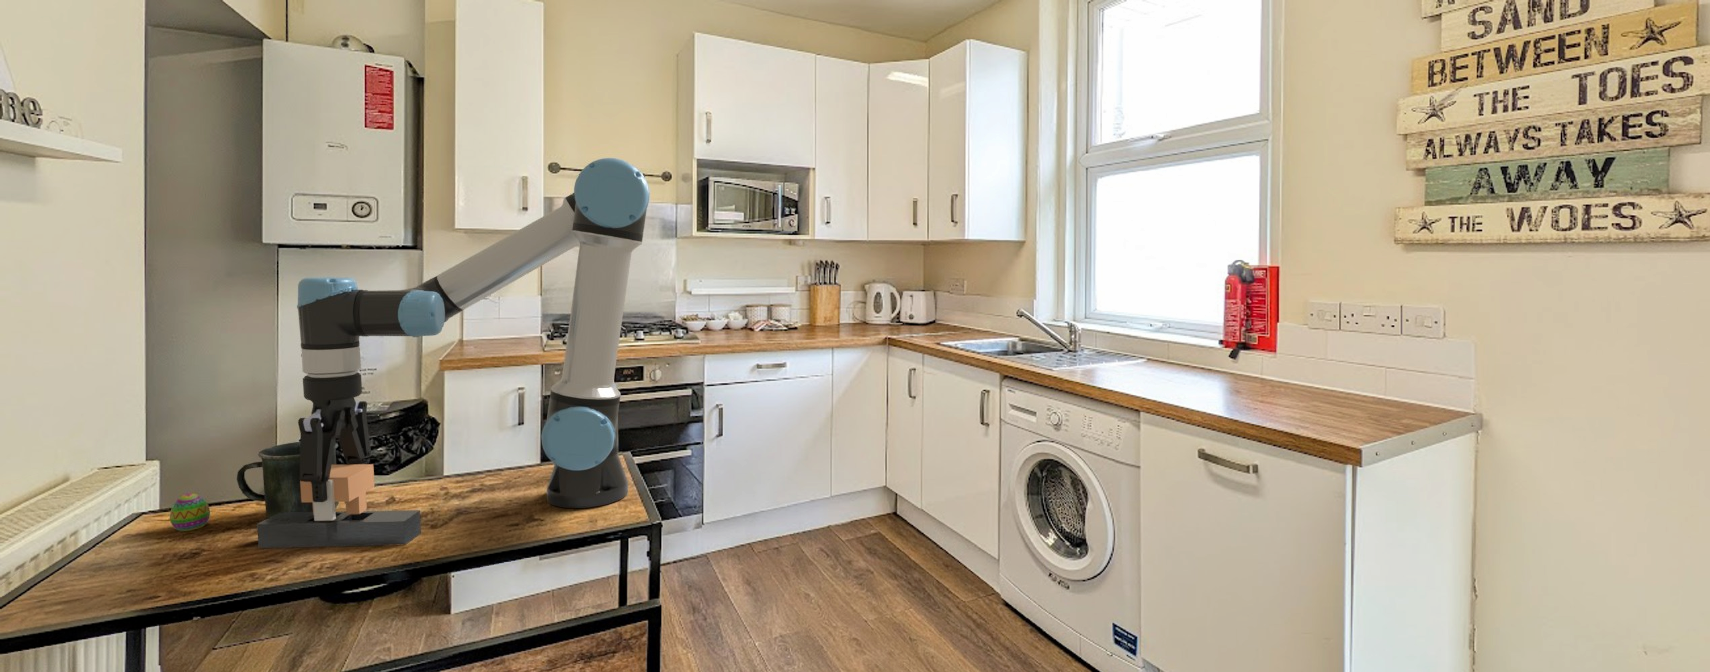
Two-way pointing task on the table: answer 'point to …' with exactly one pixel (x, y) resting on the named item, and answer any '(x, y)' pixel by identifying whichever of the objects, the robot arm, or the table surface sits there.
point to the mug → (279, 479)
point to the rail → (339, 529)
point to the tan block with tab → (347, 486)
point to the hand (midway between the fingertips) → (340, 510)
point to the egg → (189, 512)
